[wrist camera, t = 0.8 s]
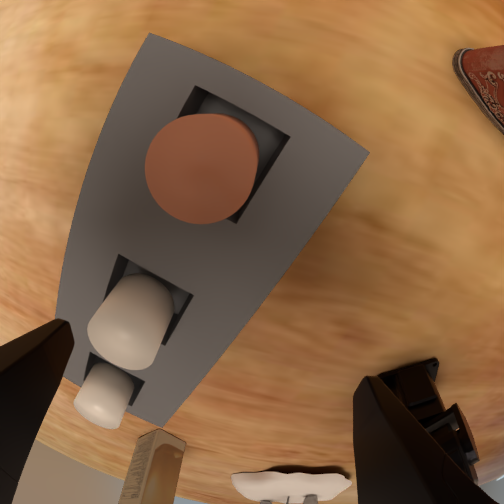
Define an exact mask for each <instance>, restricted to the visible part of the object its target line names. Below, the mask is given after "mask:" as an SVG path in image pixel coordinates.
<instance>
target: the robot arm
mask: <svg viewBox="0 0 504 504" xmlns="http://www.w3.org/2000/svg"><path fill="white" fill-rule="evenodd" d="M74 345H75V340H74V336H73V333H72V329H71V325H70V323H69V322H68V321H66V320H63V319H60V318H57V319H54V320H52V321H50V322H48V323H46V324H44V325H42V326H40V327H38V328H36V329H34V330H32V331H30V332H28V333H26V334H24V335H22V336H20V337H18V338H16V339H14V340H12V341H10V342H8V343H6V344H4V345H2V346H0V504H12V501H13V497H14V495H15V492H16V489H17V486H18V482H19V479H20V476H21V474H22V471H23V468H24V465H25V463H26V460H27V457H28V455H29V452H30V450H31V447H32V445H33V442H34V440H35V438H36V435H37V433H38V431H39V428H40V426H41V424H42V421H43V419H44V417H45V415H46V412H47V410H48V408H49V406H50V404H51V402H52V400H53V398H54V395H55V393H56V391H57V389H58V387H59V385H60V382H61V380H62V377H63V374H64V372H65V369H66V366H67V364H68V361H69V358H70V356H71V353H72V351H73V348H74ZM438 366H439V361H438V359H436V358H435V359H432V360H429V361H425V362H422V363H419V364H416V365H412V366H409V367H406V368H402V369H399V370H395V371H391V372H388V373H384V374H381V375H379V376H378V377H377V376H365V377H364V378H363V379H362V381H361V383H360V384H359V386H358V388H357V389H356V391H355V393H354V396H353V446H354V456H355V467H356V479H357V492H358V504H499V503H497V502H496V501H494V500H493V499H492V498H491V497H490V496H488V495H487V494H486V493H485V492H484V491H483V490H482V489H481V488H480V487H479V486H478V477H477V474H476V471H475V468H474V465H473V464H475V463H477V462H478V461H480V460H479V456H478V452H477V448H476V445H475V441H474V438H473V435H472V432H471V430H470V427H469V425H468V423H467V420H466V418H465V416H464V414H463V413H462V411H461V410H460V408H459V406H458V405H457V403H455V404H454V405H452V406H451V407H450V408H449V409H447V410H446V409H445V407H444V404H443V402H442V399H441V397H440V395H439V392H438V390H437V388H436V385H435V383H434V382H435V378H436V374H437V370H438ZM458 428H459V430H457V431H456V429H458Z"/></svg>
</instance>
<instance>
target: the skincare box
mask: <svg viewBox="0 0 504 504" xmlns="http://www.w3.org/2000/svg"><path fill="white" fill-rule="evenodd" d="M185 445H186V443H185V442H184V441H182V440H180V439H178V438H176V437H174V436H172V435H170V434H169V433H167V432H165V431H163V430H161V429H158V430H155V431H153V432H151V433H149V434H146V435H144V436H142V437H140V438H138V441H137V444H136V447H135V450H134V453H133V456H132V460H131V463H130V466H129V469H128V472H127V476H126V479H125V482H124V486H123V489H122V492H121V496H120V499H119V503H118V504H173V502H174V497H175V492H176V487H177V482H178V478H179V473H180V468H181V463H182V458H183V454H184V449H185Z"/></svg>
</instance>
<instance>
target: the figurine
mask: <svg viewBox="0 0 504 504" xmlns="http://www.w3.org/2000/svg"><path fill="white" fill-rule="evenodd" d="M231 480H232V484H233V485H234V486H235V488H236V489H237V491H238V492H239V493H241V494H242V495H243V496H245V497H246V498H248V499H251V500H254V501H261V502H260V504H272V503H271V502H275V501H276V502H281V503H286V504H288V503H303V504H318V501H326V500H331V499H332V498H334V497H335V496H336V495H338V494H339V493H340V492H342V491H343V490H345V489H347V488H348V487H349V486H350V485H351V484H352V482H351V481H350V480H347V479H345V477H344V476H343V475H340V474H317V475H311V474H305V473H292V474H284V473H278V472H258V473H238V474H232V476H231Z"/></svg>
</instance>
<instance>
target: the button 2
mask: <svg viewBox="0 0 504 504" xmlns="http://www.w3.org/2000/svg"><path fill="white" fill-rule="evenodd" d="M133 391H134V383H133V381H132V379H131V378H130V377H129V376H128V375H127V374H126V373H125V372H124V371H122V370H121V369H119V368H118V367H116V366H113V365H111V364H108V363H96V364H95V365H94V366H93V367H92V369H91V371H90V372H89V374H88V376H87V378H86V380H85V381H84V383H83V385H82V387H81V389H80V391H79V392H78V394H77V396H76V398H75V400H74V406H75V408H76V410H77V411H78V412H79V413H80V414H81V415H82V416H83V417H85V418H86V419H87V420H89V421H90V422H92V423H94V424H96V425H98V426H101V427H104V428H107V429H116V428H118V427H119V425H120V423H121V420H122V418H123V415H124V413H125V410H126V408H127V405H128V403H129V400H130V398H131V395H132V393H133Z"/></svg>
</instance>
